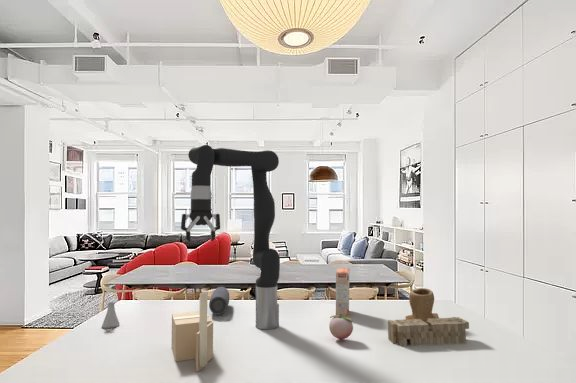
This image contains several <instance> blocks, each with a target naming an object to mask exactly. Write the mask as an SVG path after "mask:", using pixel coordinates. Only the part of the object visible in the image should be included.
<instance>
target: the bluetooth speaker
mask: <svg viewBox="0 0 576 383" xmlns="http://www.w3.org/2000/svg"><path fill="white" fill-rule="evenodd" d="M229 304H230V293H229V290H228V289H227V287H224V286H218V287H216V288H214V290H213V291H212V293H211V296H210V298H209V301H208V306H209V310H210V312H211V313H212V314H215V315H222V314H223V313H225V312H226V310H227V309H228V307H229Z"/></svg>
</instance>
